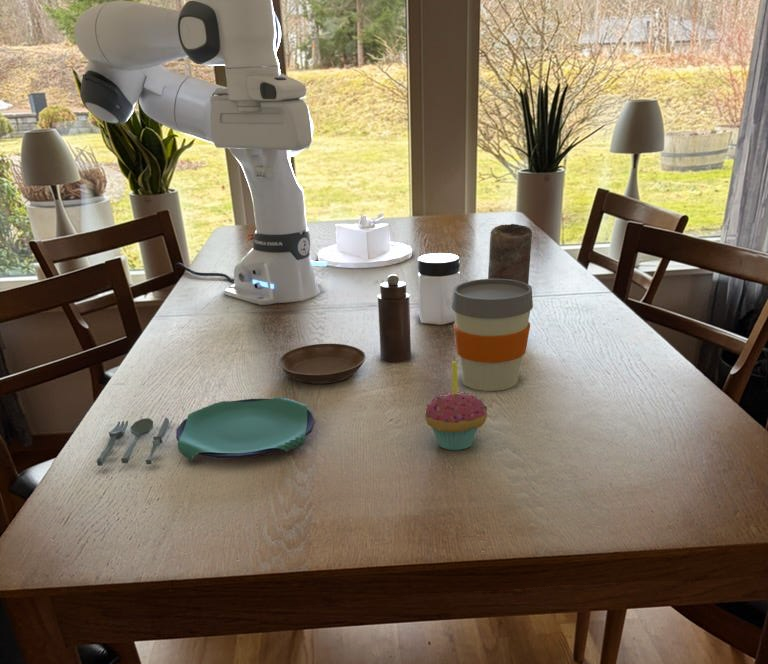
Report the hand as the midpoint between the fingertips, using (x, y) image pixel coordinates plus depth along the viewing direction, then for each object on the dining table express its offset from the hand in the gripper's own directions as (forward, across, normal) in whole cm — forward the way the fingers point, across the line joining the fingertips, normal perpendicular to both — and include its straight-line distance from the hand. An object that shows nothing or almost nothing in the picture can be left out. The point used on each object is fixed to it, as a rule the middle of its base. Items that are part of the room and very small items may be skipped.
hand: (264, 177), depth 137 cm
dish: (+29, -26, +63) cm, 74 cm away
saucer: (+29, +18, -10) cm, 36 cm away
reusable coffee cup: (+29, +45, 0) cm, 54 cm away
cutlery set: (+29, +21, -39) cm, 53 cm away
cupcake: (+29, +52, -23) cm, 64 cm away
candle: (+29, +38, +19) cm, 52 cm away
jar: (+29, +20, +25) cm, 43 cm away
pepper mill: (+29, +25, +2) cm, 38 cm away
